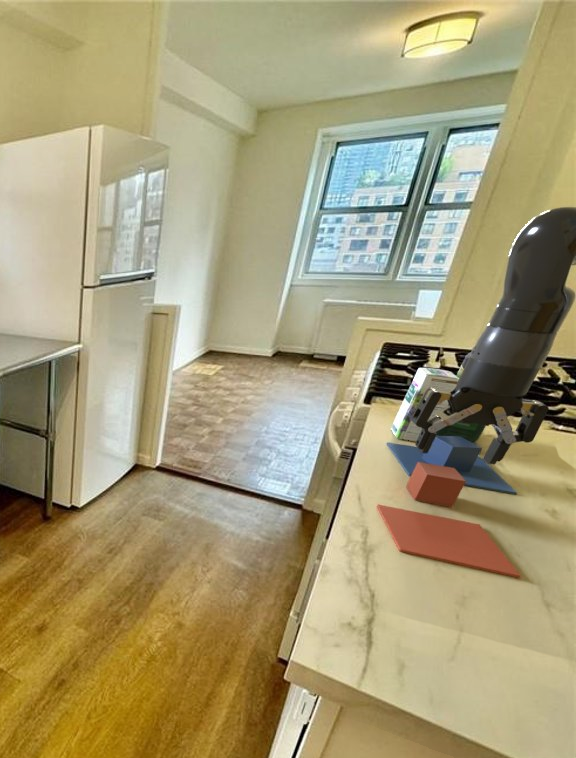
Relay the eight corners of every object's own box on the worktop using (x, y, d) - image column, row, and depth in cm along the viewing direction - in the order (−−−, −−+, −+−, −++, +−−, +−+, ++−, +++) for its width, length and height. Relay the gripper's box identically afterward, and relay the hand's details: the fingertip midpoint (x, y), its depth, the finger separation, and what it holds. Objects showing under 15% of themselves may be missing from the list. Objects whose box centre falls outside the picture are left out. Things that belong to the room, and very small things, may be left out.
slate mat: (479, 458, 95) (479, 456, 95) (516, 494, 83) (517, 492, 83) (386, 443, 101) (387, 442, 101) (408, 475, 89) (409, 474, 89)
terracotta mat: (478, 526, 75) (479, 524, 75) (519, 578, 64) (521, 575, 64) (376, 506, 80) (377, 504, 79) (399, 551, 69) (400, 549, 69)
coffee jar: (477, 448, 99) (524, 360, 91) (427, 436, 104) (468, 352, 96) (478, 434, 106) (522, 351, 97) (431, 424, 111) (469, 343, 102)
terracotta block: (441, 493, 84) (454, 467, 81) (452, 507, 80) (466, 481, 77) (405, 486, 85) (417, 461, 83) (414, 500, 81) (427, 474, 79)
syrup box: (389, 429, 108) (416, 366, 101) (422, 434, 105) (452, 370, 99) (395, 439, 103) (425, 373, 97) (430, 444, 101) (463, 378, 94)
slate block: (448, 459, 94) (460, 436, 92) (469, 472, 90) (482, 448, 87) (421, 458, 94) (432, 435, 92) (441, 470, 90) (453, 446, 88)
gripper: (454, 359, 70) (408, 457, 77) (588, 372, 65) (524, 476, 72) (435, 347, 76) (393, 439, 84) (555, 358, 71) (500, 455, 79)
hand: (454, 456), depth 78 cm, fingers open, 8 cm apart
